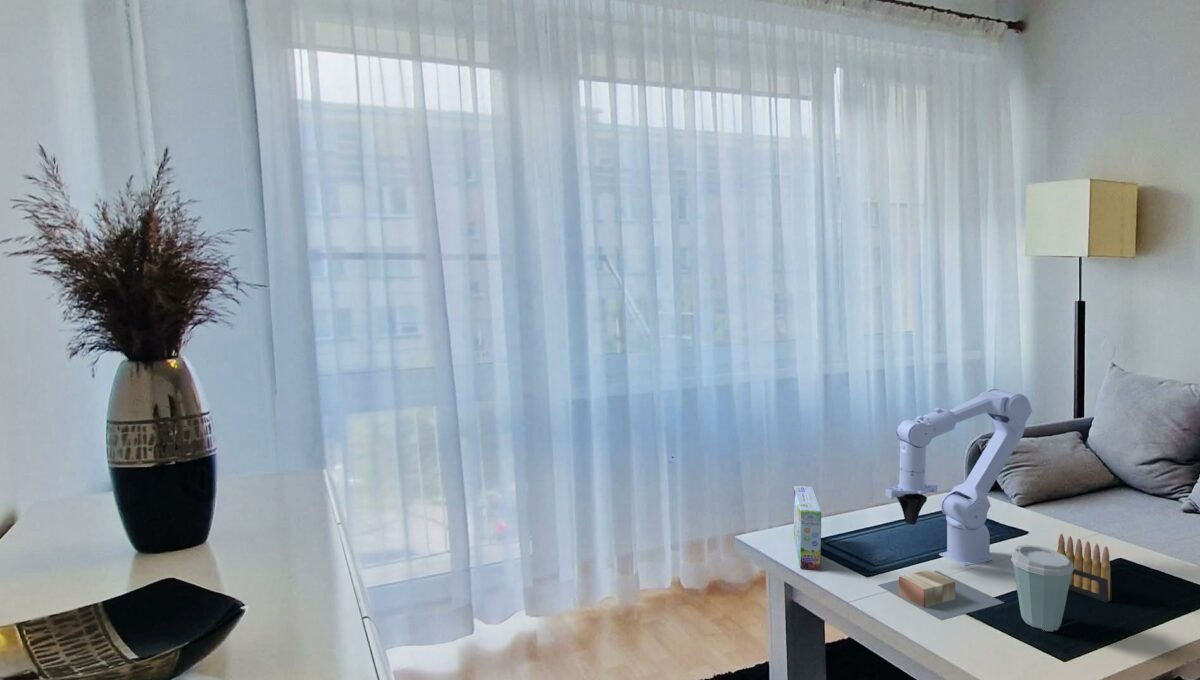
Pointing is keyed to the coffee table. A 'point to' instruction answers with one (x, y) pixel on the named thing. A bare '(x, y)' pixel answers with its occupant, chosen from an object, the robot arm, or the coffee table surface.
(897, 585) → the rubber mat
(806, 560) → the snack box
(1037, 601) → the disposable coffee cup
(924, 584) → the beech block
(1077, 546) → the ammunition clip
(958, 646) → the coffee table surface
